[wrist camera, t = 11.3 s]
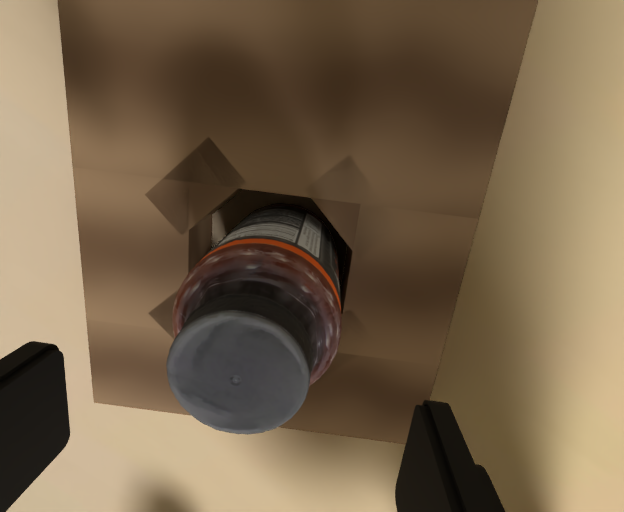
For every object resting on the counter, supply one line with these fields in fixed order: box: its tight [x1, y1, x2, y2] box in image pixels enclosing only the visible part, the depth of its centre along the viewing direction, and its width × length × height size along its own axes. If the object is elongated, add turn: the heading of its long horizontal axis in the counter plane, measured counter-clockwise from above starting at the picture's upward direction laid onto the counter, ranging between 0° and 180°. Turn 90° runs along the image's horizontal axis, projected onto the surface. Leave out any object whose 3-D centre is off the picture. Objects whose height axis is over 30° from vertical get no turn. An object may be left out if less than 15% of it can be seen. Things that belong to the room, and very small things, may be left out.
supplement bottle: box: [166, 204, 342, 434], centre depth 15 cm, size 6×6×11 cm
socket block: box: [58, 0, 538, 444], centre depth 18 cm, size 21×18×4 cm
